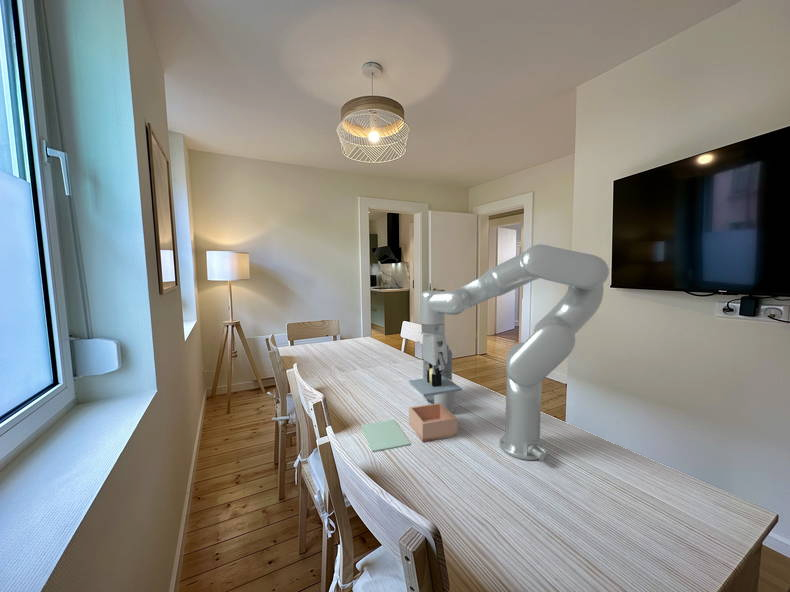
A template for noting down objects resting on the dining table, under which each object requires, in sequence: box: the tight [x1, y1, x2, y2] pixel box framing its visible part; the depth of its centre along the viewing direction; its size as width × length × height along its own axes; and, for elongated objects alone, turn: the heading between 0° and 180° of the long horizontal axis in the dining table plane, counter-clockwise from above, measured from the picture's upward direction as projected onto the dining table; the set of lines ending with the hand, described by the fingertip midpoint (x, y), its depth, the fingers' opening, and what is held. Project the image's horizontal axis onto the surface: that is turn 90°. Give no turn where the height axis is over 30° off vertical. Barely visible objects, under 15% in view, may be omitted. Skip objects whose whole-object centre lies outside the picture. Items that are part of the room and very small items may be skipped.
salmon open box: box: [408, 403, 458, 443], centre depth 102 cm, size 12×12×6 cm
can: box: [434, 379, 455, 414], centre depth 115 cm, size 8×8×12 cm
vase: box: [422, 343, 453, 404], centre depth 125 cm, size 12×12×23 cm
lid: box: [408, 368, 463, 398], centre depth 101 cm, size 13×13×6 cm
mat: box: [360, 419, 412, 453], centre depth 99 cm, size 16×12×1 cm
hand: (434, 383), depth 101 cm, fingers closed on lid, 3 cm apart
